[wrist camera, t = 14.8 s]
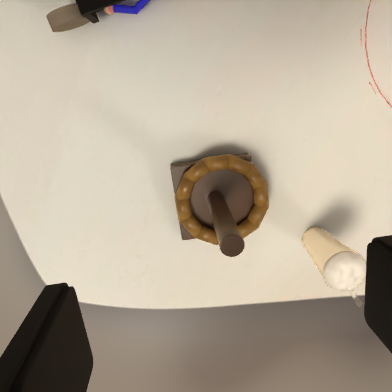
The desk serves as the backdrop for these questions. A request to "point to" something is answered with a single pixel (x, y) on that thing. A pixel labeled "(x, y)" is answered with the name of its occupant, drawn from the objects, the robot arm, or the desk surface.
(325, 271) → the milkshake
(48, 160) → the desk surface
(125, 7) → the figurine character
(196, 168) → the ring
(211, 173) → the peg stand
